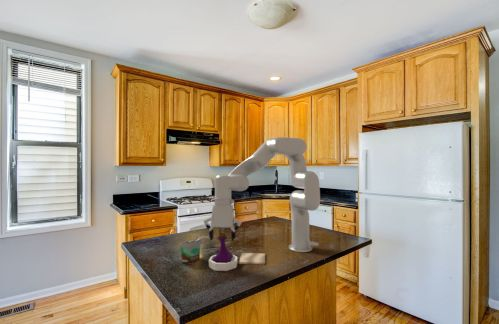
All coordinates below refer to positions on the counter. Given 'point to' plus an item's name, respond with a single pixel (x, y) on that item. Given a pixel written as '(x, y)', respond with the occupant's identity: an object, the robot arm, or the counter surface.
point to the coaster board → (252, 258)
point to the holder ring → (223, 264)
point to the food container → (190, 250)
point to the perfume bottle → (223, 250)
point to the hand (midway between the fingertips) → (222, 239)
